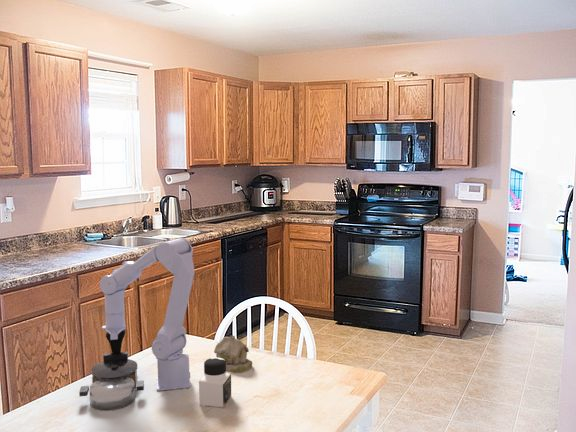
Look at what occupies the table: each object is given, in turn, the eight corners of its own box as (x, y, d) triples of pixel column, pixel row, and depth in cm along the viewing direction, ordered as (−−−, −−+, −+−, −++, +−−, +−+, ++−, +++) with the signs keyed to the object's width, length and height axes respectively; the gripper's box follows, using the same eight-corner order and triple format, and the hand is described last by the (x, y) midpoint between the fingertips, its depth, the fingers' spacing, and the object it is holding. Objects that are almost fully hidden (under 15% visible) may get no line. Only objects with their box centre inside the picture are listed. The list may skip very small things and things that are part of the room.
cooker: (145, 374, 173) (144, 360, 172) (143, 406, 151) (143, 391, 151) (87, 379, 169) (87, 365, 168) (78, 413, 147) (77, 397, 147)
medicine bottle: (223, 408, 151) (223, 365, 149) (199, 405, 152) (198, 363, 151) (231, 396, 158) (231, 356, 156) (207, 394, 159) (207, 354, 158)
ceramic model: (205, 365, 180) (205, 335, 179) (229, 355, 189) (229, 327, 188) (237, 376, 172) (236, 345, 171) (260, 365, 181) (260, 335, 179)
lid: (138, 360, 172) (137, 350, 172) (136, 376, 159) (136, 366, 159) (94, 363, 169) (93, 354, 169) (89, 381, 156) (88, 371, 156)
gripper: (103, 306, 177) (105, 347, 178) (98, 320, 163) (100, 364, 164) (126, 305, 178) (127, 345, 180) (123, 318, 164) (125, 362, 166)
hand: (116, 354), depth 172 cm, fingers closed
